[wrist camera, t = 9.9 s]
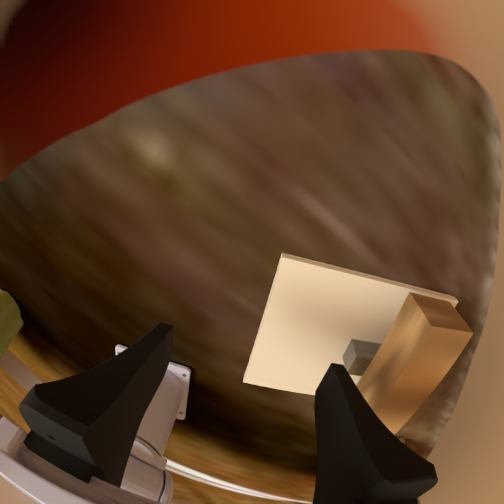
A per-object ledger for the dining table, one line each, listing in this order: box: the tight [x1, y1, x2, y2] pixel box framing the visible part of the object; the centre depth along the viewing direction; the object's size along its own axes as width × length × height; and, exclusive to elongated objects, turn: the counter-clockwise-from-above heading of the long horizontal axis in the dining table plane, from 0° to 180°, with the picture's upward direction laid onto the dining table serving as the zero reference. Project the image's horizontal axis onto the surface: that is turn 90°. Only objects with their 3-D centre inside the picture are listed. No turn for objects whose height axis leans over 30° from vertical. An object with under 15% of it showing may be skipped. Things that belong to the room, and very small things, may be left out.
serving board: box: [243, 253, 458, 395], centre depth 23 cm, size 13×16×1 cm
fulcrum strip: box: [342, 339, 382, 376], centre depth 22 cm, size 2×7×2 cm, turn 77°
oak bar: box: [356, 292, 474, 435], centre depth 19 cm, size 14×4×4 cm, turn 167°
